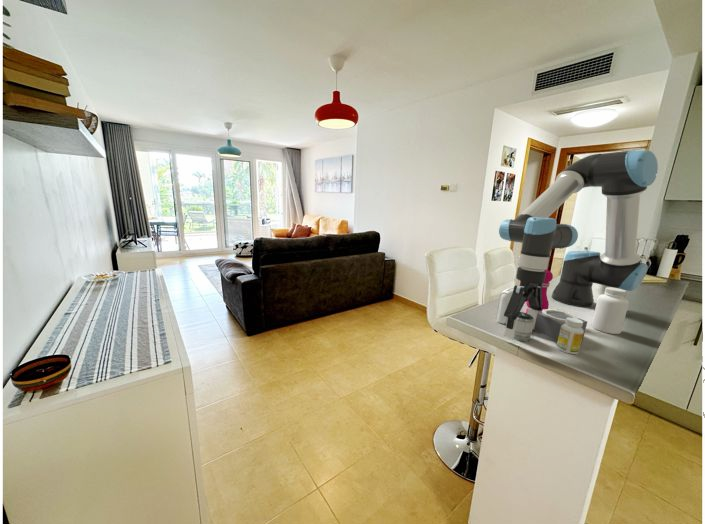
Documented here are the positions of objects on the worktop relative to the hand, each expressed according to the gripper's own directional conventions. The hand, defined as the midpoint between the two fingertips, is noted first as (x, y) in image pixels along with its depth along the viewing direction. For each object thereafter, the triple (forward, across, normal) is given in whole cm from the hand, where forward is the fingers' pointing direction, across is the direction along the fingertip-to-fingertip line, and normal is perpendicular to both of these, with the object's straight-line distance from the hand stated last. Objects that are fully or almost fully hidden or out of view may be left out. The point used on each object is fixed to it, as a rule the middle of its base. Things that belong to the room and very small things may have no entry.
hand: (519, 332), depth 91 cm
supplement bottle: (+2, -5, +12) cm, 13 cm away
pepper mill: (+2, -26, -6) cm, 26 cm away
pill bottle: (+2, -34, +14) cm, 37 cm away
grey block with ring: (+2, -15, +5) cm, 16 cm away
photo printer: (+2, -10, -9) cm, 14 cm away
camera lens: (+2, 0, 0) cm, 2 cm away
